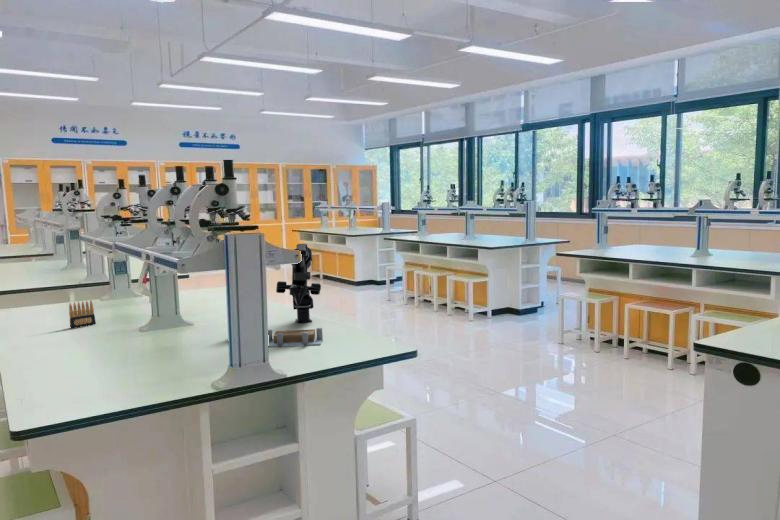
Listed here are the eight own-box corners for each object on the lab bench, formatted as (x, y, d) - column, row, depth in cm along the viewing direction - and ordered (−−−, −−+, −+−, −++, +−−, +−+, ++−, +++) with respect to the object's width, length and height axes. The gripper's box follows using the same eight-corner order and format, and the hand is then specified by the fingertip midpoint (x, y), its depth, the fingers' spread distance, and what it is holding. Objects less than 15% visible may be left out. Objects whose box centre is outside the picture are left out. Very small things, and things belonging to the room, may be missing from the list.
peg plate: (267, 340, 239) (267, 328, 238) (323, 338, 239) (322, 326, 239) (263, 347, 228) (262, 335, 228) (321, 345, 229) (320, 332, 229)
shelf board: (276, 330, 239) (273, 335, 232) (315, 329, 240) (313, 334, 232) (276, 337, 240) (273, 343, 232) (315, 336, 240) (313, 341, 233)
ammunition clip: (70, 328, 270) (68, 303, 268) (70, 328, 271) (67, 303, 269) (95, 324, 276) (93, 300, 275) (95, 324, 278) (92, 299, 276)
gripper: (278, 263, 245) (277, 295, 237) (322, 265, 250) (322, 297, 241) (276, 276, 254) (275, 307, 246) (319, 278, 259) (319, 309, 251)
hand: (298, 305), depth 246 cm, fingers closed
